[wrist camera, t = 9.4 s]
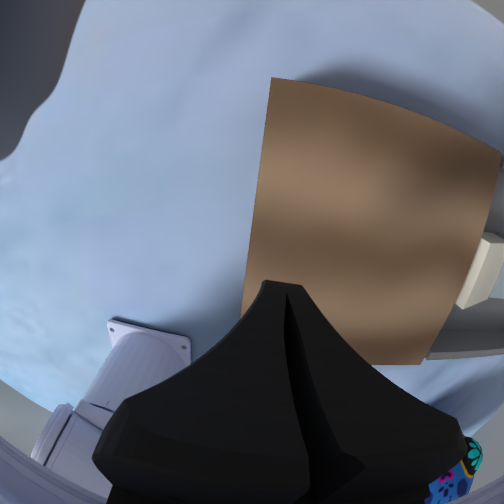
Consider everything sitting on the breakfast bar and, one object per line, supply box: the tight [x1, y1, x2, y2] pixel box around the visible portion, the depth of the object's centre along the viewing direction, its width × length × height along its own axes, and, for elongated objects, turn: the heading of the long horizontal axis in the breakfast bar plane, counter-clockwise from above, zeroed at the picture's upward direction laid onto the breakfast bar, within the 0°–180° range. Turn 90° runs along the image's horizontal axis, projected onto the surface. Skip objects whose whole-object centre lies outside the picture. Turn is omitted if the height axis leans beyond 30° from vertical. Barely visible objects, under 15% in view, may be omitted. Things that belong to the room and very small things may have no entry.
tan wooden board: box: [240, 77, 502, 365], centre depth 16 cm, size 16×14×4 cm
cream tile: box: [455, 232, 504, 309], centre depth 16 cm, size 5×5×2 cm
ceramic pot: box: [424, 435, 483, 504], centre depth 22 cm, size 18×18×15 cm
